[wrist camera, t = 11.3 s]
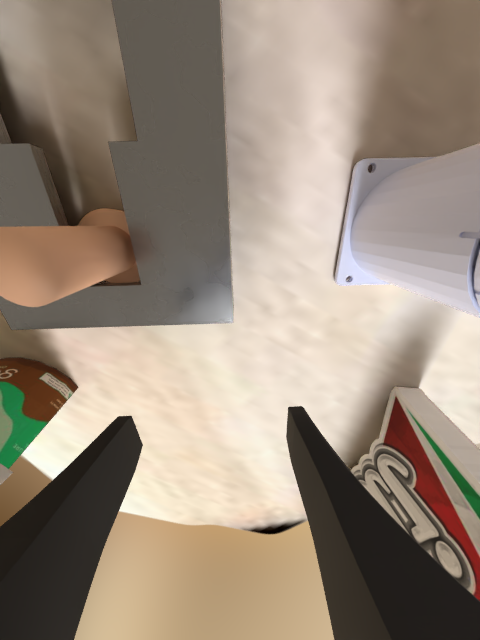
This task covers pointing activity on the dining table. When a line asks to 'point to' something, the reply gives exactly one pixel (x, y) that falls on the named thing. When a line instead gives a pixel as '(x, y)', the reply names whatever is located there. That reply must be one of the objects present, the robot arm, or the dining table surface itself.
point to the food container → (27, 405)
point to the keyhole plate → (149, 179)
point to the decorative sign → (428, 482)
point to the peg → (65, 258)
